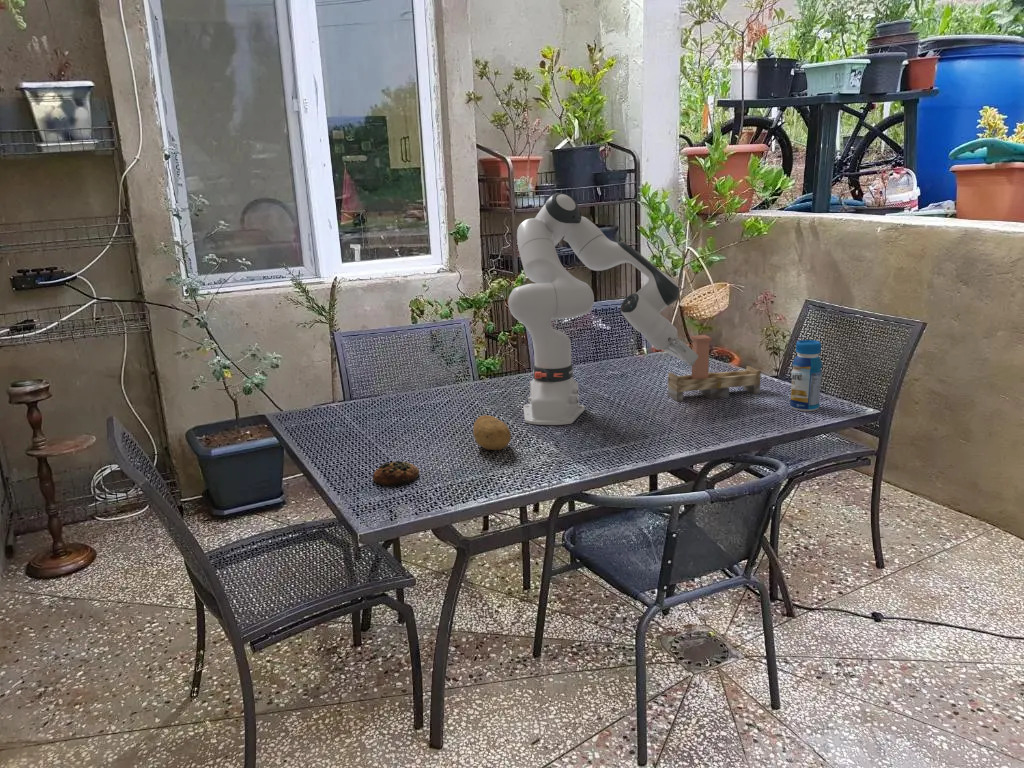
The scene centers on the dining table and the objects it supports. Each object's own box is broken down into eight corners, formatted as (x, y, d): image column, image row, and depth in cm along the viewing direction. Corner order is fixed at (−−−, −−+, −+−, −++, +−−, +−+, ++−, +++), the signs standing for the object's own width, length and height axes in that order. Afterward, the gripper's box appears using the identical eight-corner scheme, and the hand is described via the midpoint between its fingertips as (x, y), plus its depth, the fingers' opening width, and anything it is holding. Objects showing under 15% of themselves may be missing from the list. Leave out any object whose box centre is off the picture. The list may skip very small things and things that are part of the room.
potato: (484, 460, 188) (483, 430, 186) (466, 443, 201) (465, 415, 199) (520, 453, 192) (519, 424, 190) (500, 437, 205) (499, 410, 202)
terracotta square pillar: (695, 382, 232) (697, 339, 228) (689, 379, 237) (690, 336, 233) (710, 381, 233) (711, 337, 229) (703, 377, 237) (704, 334, 234)
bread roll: (385, 490, 172) (383, 469, 171) (366, 482, 181) (363, 462, 180) (427, 480, 178) (425, 460, 177) (406, 473, 187) (404, 453, 186)
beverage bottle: (822, 412, 216) (827, 345, 210) (792, 412, 217) (796, 345, 212) (815, 403, 224) (820, 338, 218) (786, 403, 225) (790, 338, 220)
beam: (677, 402, 230) (678, 379, 228) (666, 394, 239) (667, 372, 237) (761, 394, 235) (762, 371, 233) (747, 387, 244) (748, 365, 242)
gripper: (684, 334, 219) (713, 363, 223) (657, 322, 238) (685, 349, 243) (669, 350, 219) (699, 379, 224) (644, 337, 239) (672, 364, 243)
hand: (691, 363), depth 233 cm, fingers closed
